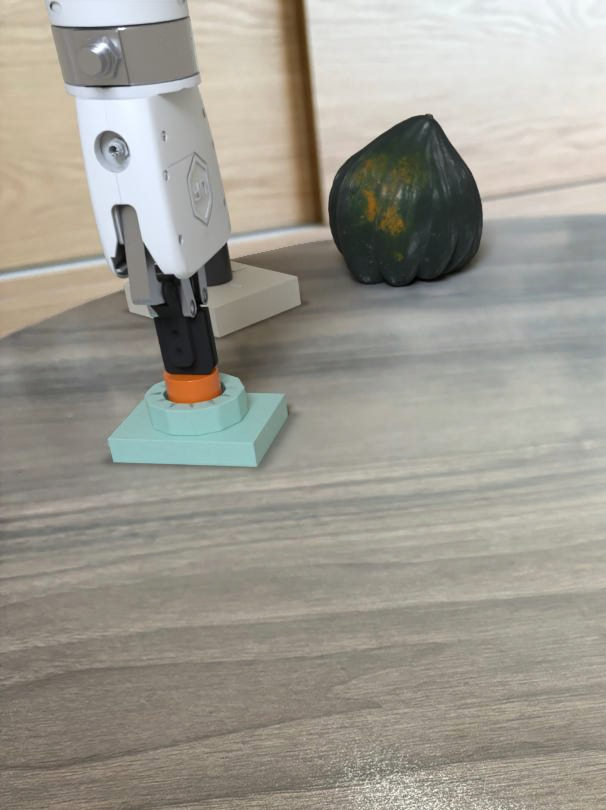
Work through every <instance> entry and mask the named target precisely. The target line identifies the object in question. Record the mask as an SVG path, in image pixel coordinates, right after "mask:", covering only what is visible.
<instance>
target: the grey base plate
mask: <svg viewBox="0 0 606 810" xmlns="http://www.w3.org/2000/svg"><path fill="white" fill-rule="evenodd" d="M230 262H231V268H232V274H233V278H232V280H230V281H229V282H227V283H224V284H220V285H215V286H207V289H208V303H207V305H201V307H209V313H210V318H211V323H212V328H213V334H214V338H221V337H224V336H226V335H230V334H231V333H234V332H236V331H238V330H239V331H240V330H241V329H244V328H246V327H249V326H251V325H254V324H256V323H258V322H261V321H263V320H266V319H268V318H271V317H273V316H276V315H278V314H281V313H284V312H286V311H289V310H291V309H293V308H297V307H298V306H300V305H302V301H301V293H300V284H299V277H298V276H296V275H293V274H288V273H285V272H280V271H275V270H271V269H267V268H264V267H263V268H262V267H258V266H254V265H250V264H245V263H241V262H237V261H232V260H230ZM123 289H124V294H125V298H126V303H127V306H128V311H129V313H133V314H136V315H140V316H143V317H146V318H150V319H153V320H154V318H153V317H151V315H150V314H149V311H148V307H147V305H134V304H133V302H132V299H131V292H130V284H129V281H128V282H125V283H123Z"/></svg>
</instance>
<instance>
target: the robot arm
mask: <svg viewBox="0 0 606 810" xmlns="http://www.w3.org/2000/svg"><path fill="white" fill-rule="evenodd" d="M44 5H45V8H46V12H47V16H48V20H49V25H50V29H51V34H52V38H53V42H54V47H55V51H56V54H57V58H58V59H57V60H58V63H59V67H60V71H61V74H62V75H61V76H62V79H63V85H64V88H65V93H66V94H67V95H70V96H73V97H74V103H75V111H76V117H77V118H76V119H77V127H78V134H79V135H78V136H79V142H80V146H81V153H82V159H83V166H84V171H85V176H86V177H85V178H86V182H87V187H88V191H89V192H88V193H89V198H90V202H91V207H92V212H93V216H94V222H95V225H96V229H97V233H98V237H99V242H100V245H101V249H102V252H103V255H104V258H105V261H106V265H107V267H108V268H109V270H110V272H111V273H112V274H113V275H114V276H116V277H117V278H119V279H122V280H123V279H124V280H125V279H128V282H129V284H130V292H131V299H132V302H133V304H134V305H147V307H148V311H149V314H150V315H151V317H153V318H154V319H153V318H152V319H153V322H154V327H155V331H156V335H157V340H158V345H159V349H160V354H161V360H162V363H163V368H164V371H165V370H166V372H168V373H169V374H201V375H207V374H210V372H211V371H212V370H213V368H214V367H215V366H218V364H219V356H218V350H217V346H216V340H215V336H214V334H213V328H212V323H211V318H210V313H209V307H201V305H207V303H208V289H207V282H206V274H205V263H206V262H207V261H209V260H210V259H211V258H212V257H213V256H214V255H215V254H216V253H217V252H218V251H219V250H220V249H221V248H222V247H223V246H224V245H225V244H226V242H227V243H228V241H229V240H230V237H231V233H232V226H231V225H232V223H231V219H230V213H229V209H228V204H227V198H226V194H225V189H224V184H223V179H222V175H221V169H220V165H219V160H218V156H217V151H216V146H215V142H214V138H213V133H212V130H211V125H210V122H209V118H208V115H207V111H206V107H205V104H204V101H203V97H202V95H201V91H200V88H199V85H201V83H202V78H201V73H200V72H201V71H200V67H199V60H198V56H197V55H198V54H197V49H196V44H195V40H194V39H195V38H194V32H193V31H194V30H193V25H192V20H191V17H190V9H189V3H188V0H44Z"/></svg>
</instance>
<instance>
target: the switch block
mask: <svg viewBox="0 0 606 810" xmlns="http://www.w3.org/2000/svg"><path fill="white" fill-rule="evenodd" d="M219 377H220V382H221V388H222V394H221V396H218V397H216V398H214V399H212V400H209V401H204V402H199V403H193V404H182V403H174V402H171V401H170V400H169V399H168V394H167V390H166V385H165V381H164V380H162V381H160V382H157V383H154V384H153V385H152V386H150V388H149V389H148V390H147V391H146V392H145V393H144V396H143V397H144V398H143V399H142V400H141V401H140V402H139V403H138V404H137V406H136V407H135V408H134V409H133V410H132V411H131V412H130V413H129V414H128V415H127V417H125V419H124V420H123V421H122V422H121V423H120V424H119V425H118V427H117V428H116V429H115V430H114V431H113V432H112V433H111V434H110V435H109V436H108V438H107V442H108V446H109V450H110V454H111V457H112V461H113V463H128V464H129V463H131V464H157V465H159V464H161V465H189V466H190V465H191V466H192V465H193V466H224V467H253V468H254V467H255V468H256V467H258V466H259V464H260V463H261V462H262V459H263V458H264V456H266V455H265V454H266V453H267V452H268V450H269V449H270V447H271V445H272V444H273V442H274V440H275V438H276V436H277V435H278V434H279V432H280V430H281V429H282V427H283V425H284V424H285V422H286V420H287V419H288V417H289V412H288V406H287V405H288V404H287V399H286V393H272V392H271V393H270V392H246V389H245V386H244V384H243V382H242V381H241V379H240V378H239V377H238V376H237V377H236V376H234V375H231V374H227V373H224V372H219Z"/></svg>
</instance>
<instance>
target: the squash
mask: <svg viewBox="0 0 606 810" xmlns="http://www.w3.org/2000/svg"><path fill="white" fill-rule="evenodd" d="M327 200H328V201H327V212H328V213H327V214H328V225H329V229H330V233H331V237H332V240H333V242H334V245H335V247H336V248H337V250H338V252H339V253H340V254H341V255H342V257H343V260H344V262H345V266H346V267H347V269H348V270H349V272H350V273H351V275H353V277H355V278H356V279H357V280H358V281H359V282H361V283H363V284H365V285H379V284H385V283H388V284H390V285H392V286H394V287H402V286H405V285H408V284H409V283H411V282H412V281H413V280H414V279H415V278H416V277H417V278H419V279H421V280H430V279H435V278H437V277H439V276H440V275H445V274H449V273H455V272H458V271H460V270H462V269H464V268H465V267H466V266H468V265H469V264H470V263H471V261H472V260H474V258H475V256H476V255H477V253H478V251H479V249H480V245H481V241H482V235H483V230H484V229H483V228H484V211H483V202H482V198H481V194H480V191H479V187H478V183H477V180H476V178H475V177H474V174H473V172H472V171H471V168H469V166H468V164H467V163H466V161H465V160H464V159H463V157H462V156H461V154H460V153H459V152H458V150H457V149H456V147H455V146H454V145H453V144H452V142H451V140H450V139H449V137H448V136H447V134H446V132H445V131H444V129H443V127H442V125H441V124H440V123H439V122H438V121H437V120H436V118H434V115H433V114H431V113H425V114H417V115H412V116H410V117H408V118H406V119H404V120H402V121H400V122H398V123H396V124H394V125H393V126H391V127H390V128H389V129H387V130H386V131H384V132H382V133H381V134H378V136H376V137H375V138H374V139H373V140H371V141H370V142H369V143H367V144H366V145H365V146H364V147H363V148H361V149H359V150H358V151H356V152H355V153H354V154H352V155H350V157H348V158H347V159H346V160H345V161H344V163H343V164H342V165H341V166H339V168H338V170H337V171H336V173H335V175H334V177H333V180H332V184H331V186H330V190H329V194H328V199H327Z"/></svg>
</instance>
